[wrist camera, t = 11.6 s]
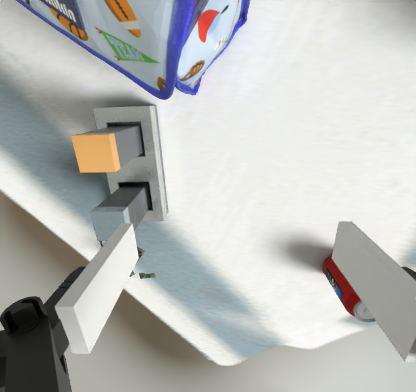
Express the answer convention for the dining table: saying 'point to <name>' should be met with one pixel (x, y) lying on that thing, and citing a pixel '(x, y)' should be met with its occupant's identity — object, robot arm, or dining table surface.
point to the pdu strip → (132, 175)
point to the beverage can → (346, 292)
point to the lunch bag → (149, 36)
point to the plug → (108, 147)
